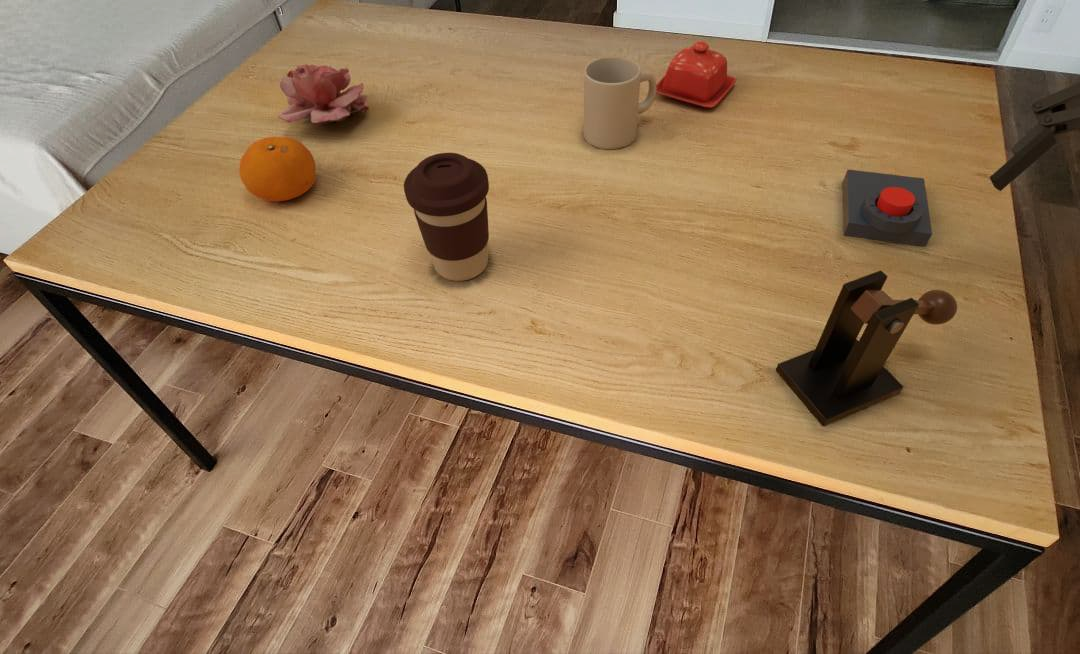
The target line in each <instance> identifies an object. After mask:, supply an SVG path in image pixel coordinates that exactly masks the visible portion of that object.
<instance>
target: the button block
mask: <svg viewBox="0 0 1080 654" xmlns="http://www.w3.org/2000/svg"><path fill="white" fill-rule="evenodd" d="M889 187H899V188H903V189H905V190H908V191H909V192H911V193H912V194H913V195H914V197H915V202H914V204H913V206H912V208H911V210H910V212H909V214H908V215H906V216H903V217H897V216H890V215H888V214H886V213H884V212H881V211H880V210H879V209H878V208H877V201H878V199H879V197H880V194H881V192H882V191H883V190H884V189H886V188H889ZM842 208H843V209H842V210H843V213H842V214H843V236H847V237H855V238H862V239H868V240H876V241H883V242H888V243H889V242H890V243H897V244H904V245H911V246H918V247H927V245H928V243H929V242H930V239H931V238H932V236H933V228H932V222H931V215H930V209H929V202H928V195H927V189H926V183H925V178H923V177H915V176H907V175H900V174H899V175H898V174H891V173H890V174H889V173H882V172H873V171H864V170H856V169H849V168H848V169H846V172H845V175H844V178H843V180H842Z"/></svg>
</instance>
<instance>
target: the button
mask: <svg viewBox="0 0 1080 654" xmlns="http://www.w3.org/2000/svg"><path fill="white" fill-rule="evenodd" d="M914 202H915V197H914V195H913V194H912V193H911V192H909V191H908V190H905V189H903V188H899V187H889V188H886V189H884V190H883V191H882V192H881V194H880V197H879V199H878V201H877V208H878V209H879V210H880V211H881V212H884V213H886V214H888V215H890V216H897V217H903V216H906V215H908V214H909V212H910V210H911V208H912V206H913V204H914Z"/></svg>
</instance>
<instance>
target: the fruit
mask: <svg viewBox="0 0 1080 654" xmlns="http://www.w3.org/2000/svg"><path fill="white" fill-rule="evenodd" d="M238 174H239V177H240V180H241V182H242V184H243V185H244V187H245V189H246V190H247V191H248V192H249V193H251V194H252V195H253V196H255V197H256V198H258V199H261V200H263V201H268V202H269V201H270V202H283V201H284V202H285V201H289V200H292V199H294V198H297V197H300V196H302V195H304V193H306V192H307V191H308V190H310V189H311V187H312V186H313V184H314V183H315V181H316V176H317V166H316V161H315V159H314V156H313V154H312V153H311V151H310V150H309V149H308V148H307V147H306V146H305V145H304V144H303V143H302V142H301V141H299V140H297V139H295V138H294V137H293V138H292V137H289V136H268V137H267V136H266V137H263V138H260V139H258V140H256V141H254V142H253V143H251V144H250V145H249V147H247V149H246V150H245V152H244V153H243V155H242V157H241V158H240V161H239V167H238Z"/></svg>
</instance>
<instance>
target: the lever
mask: <svg viewBox="0 0 1080 654" xmlns="http://www.w3.org/2000/svg"><path fill="white" fill-rule="evenodd" d="M904 300H905V299H893V298H892V297H891V296H890V295H889V294H887V293H886V292H885V291H884V290H882V289H881V290H865V292H864V293H863V294H862V295H861V296H860V297H859V299H858V300H857V301H856V302H855V303H854V305H853V306H852V307H851V308H850V309H851V310H852V311H853V312H854V313H855V314H856V315H857V316H858V317H859V318H860V319H861V320H862V321H863V322H864V325H865V324H866V325H867V324H868V322H869V320H870V318H871V316H872V314H873V313H874V312H876V311H878V310H881V309H884V308H886V307H889V306H891V305H894V304H896V303H899V302H902V301H904ZM914 300H915V301H916V302H917V303H918V304H919V306H918V308H917V309H916V311H915V313H914V314H913V315H918V318H920V319H921V320H922V321H923V322H924V323H927V324H930V325H934V326H935V325H943V324H946V323H948V322H950V321H951V320H953V318H954V317H955V316H956V314H957V311H958V302H957V300H956V299H955V297H954V296H953V295H952V294H951V293H949V292H947V291H945V290H942V289H932V290H928V291H926V292H925V293H923V294H922V295H920V297H919V298H918V299H914Z"/></svg>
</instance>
